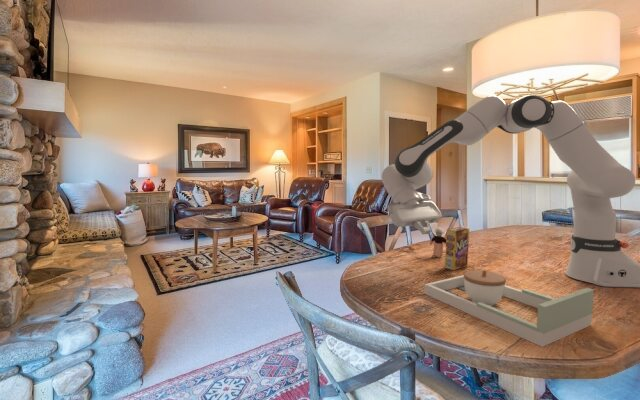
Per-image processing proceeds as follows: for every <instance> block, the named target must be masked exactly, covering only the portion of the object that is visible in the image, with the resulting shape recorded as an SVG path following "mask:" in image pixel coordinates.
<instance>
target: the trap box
mask: <svg viewBox="0 0 640 400" xmlns="http://www.w3.org/2000/svg"><path fill="white" fill-rule="evenodd" d="M453 289H459V290H461V291H464V292H466V291H465V287H464V274H463V275H458V276H454V277H450V278H444V279H441V280H437V281H432V282H429V283H424V292H423V294H424V295H426V296H429V297H431V298H433V299H435V300H437V301H440V302H441V303H444V304H446V305H448V306H451V307H453V308H455V309H458V310H459V311H462V312H464V313H467V314H469V316H470V315H471V316H472V317H476V318H477V319H479V320H481V321H484V322H487V323H488V324H491V325H493V326H495V327H496V328H499V329H502V330H504V331H506V332H509V333H511V335H512V334H513V335H515V336H517V337H519V338H522V339H523V340H525V341H528V342H530V343H532V344H535V345H537V346H539V347H542V348H543V347H545V346H547V345H550V344H552V343H554V342H556V341H558V340H562V339H564V338H566V337H567V336H568V337H569V336H570V335H572V334H575V333H576V332H579V331H582V330H583V329H585V328H588V327H590V326H592V325H591V324H592V314H593V313H592V314H590V315H588V316H585V317H583V318H580V319H578V320H576V321H573V322H571V323H568V324H566V325H564V326H561V327H559V328H557V329H554V330H552V331H549V332H547V333H545V334H542V333H540V332H538V331H535V330H532V329H530V328H528V327H525V326H523V325H520V324H518V323H516V322H513V321H511V320H508V319H506V318H504V317H501V316H499V315H496V314H494V313H492V312H489V311H487V310H485V309H482V308H480V307H477V304H476V303H474V302H472V300H468V299H466V298H464V297H461V296H459V294H458V293H455V292H453V291H451V290H453ZM502 297H505V298H508V299H511V300H514V301H517V302H519V303H522V304H524V305H527V306H530V307H533V308H536V309H538V305H539V304H542V303H545V302H547V301H546V300H543V299H540V298H537V297H534V296H531V295H528V294H525V293H522V289H521V290H520V289H518V288H515V287H512V286H509V285H506V284H505V290H504V294H503V296H502Z"/></svg>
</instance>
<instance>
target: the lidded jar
mask: <svg viewBox="0 0 640 400" xmlns="http://www.w3.org/2000/svg"><path fill="white" fill-rule="evenodd" d="M463 275H464V287H465V291H464V292H465V293H466V295H467V297H468V298H469V299H470V301H471V302H474V303H476V304H477V303H479V302H481V303H484V304H486V305H489V306H491V307H494V306H496V304H497V303H498V302H500V301H501V299H502V298H503V297H504V296H503V294H504V290H505V285H506V283H507V282H506V281H507V280H506V279H507V278H506V277H505V276H504V275H503V274H500V273H497V272H495V271H491V270H490V271H489V270H486V269H481V270H479V269H474V270H473V269H472V270H466V271H464V273H463Z"/></svg>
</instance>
